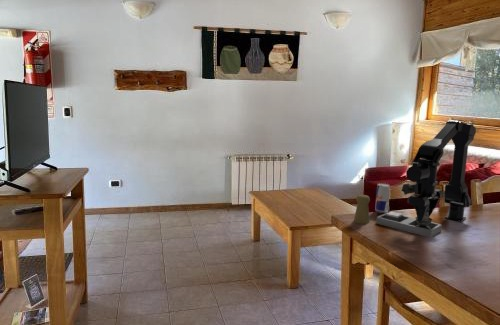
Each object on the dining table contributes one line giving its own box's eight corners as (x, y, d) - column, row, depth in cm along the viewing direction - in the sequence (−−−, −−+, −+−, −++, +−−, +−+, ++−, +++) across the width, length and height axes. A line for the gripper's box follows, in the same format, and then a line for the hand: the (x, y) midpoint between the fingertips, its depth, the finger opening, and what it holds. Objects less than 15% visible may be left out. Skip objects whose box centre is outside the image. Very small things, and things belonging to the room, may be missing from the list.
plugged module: (390, 220, 167) (391, 211, 166) (402, 223, 164) (403, 213, 163) (384, 223, 164) (385, 213, 163) (397, 226, 160) (397, 216, 160)
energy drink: (372, 210, 181) (374, 183, 179) (382, 209, 183) (384, 183, 181) (380, 214, 177) (382, 186, 174) (390, 212, 178) (392, 185, 176)
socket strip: (387, 218, 171) (388, 212, 170) (441, 231, 156) (441, 224, 156) (376, 223, 164) (376, 217, 163) (430, 237, 149) (431, 230, 149)
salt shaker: (411, 226, 157) (413, 196, 155) (421, 224, 160) (424, 194, 157) (424, 231, 152) (427, 199, 150) (434, 229, 155) (438, 198, 152)
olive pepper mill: (372, 223, 164) (374, 196, 162) (359, 224, 162) (361, 197, 160) (363, 218, 170) (364, 192, 168) (350, 220, 168) (352, 194, 166)
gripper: (416, 171, 164) (413, 209, 167) (395, 178, 151) (392, 219, 154) (445, 176, 157) (441, 215, 160) (426, 183, 144) (422, 226, 146)
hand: (423, 218), depth 155 cm, fingers closed on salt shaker, 7 cm apart
